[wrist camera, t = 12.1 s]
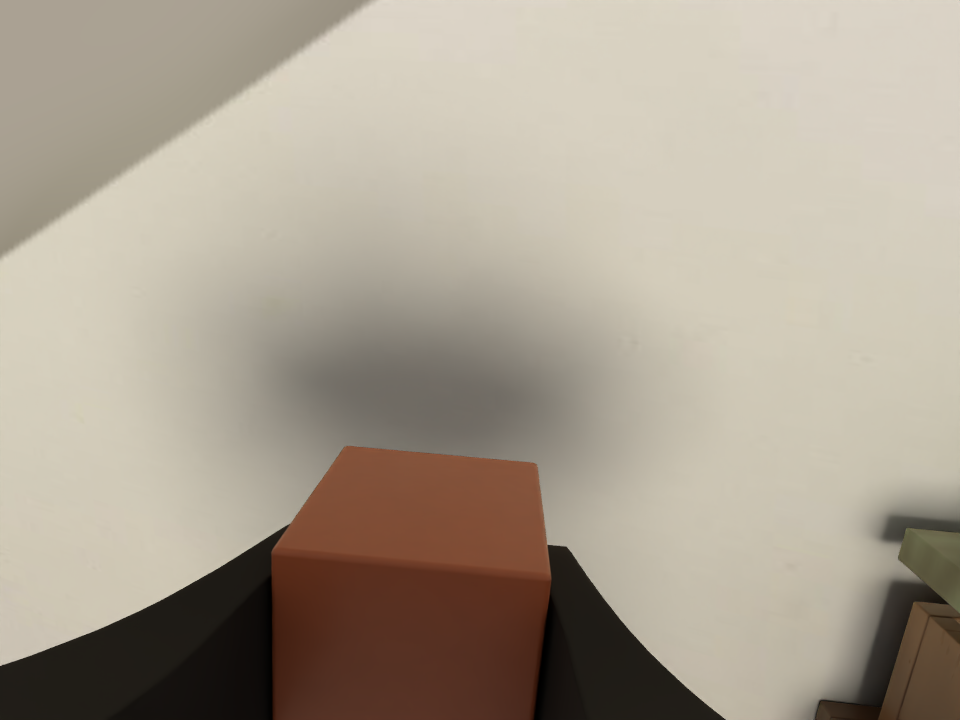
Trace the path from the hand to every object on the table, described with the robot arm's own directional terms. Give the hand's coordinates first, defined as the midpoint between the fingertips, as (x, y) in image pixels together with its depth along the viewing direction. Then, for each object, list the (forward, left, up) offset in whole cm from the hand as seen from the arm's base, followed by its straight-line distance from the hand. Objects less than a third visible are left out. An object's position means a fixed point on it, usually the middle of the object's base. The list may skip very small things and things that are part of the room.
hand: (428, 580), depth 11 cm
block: (0, 0, -1) cm, 1 cm away
